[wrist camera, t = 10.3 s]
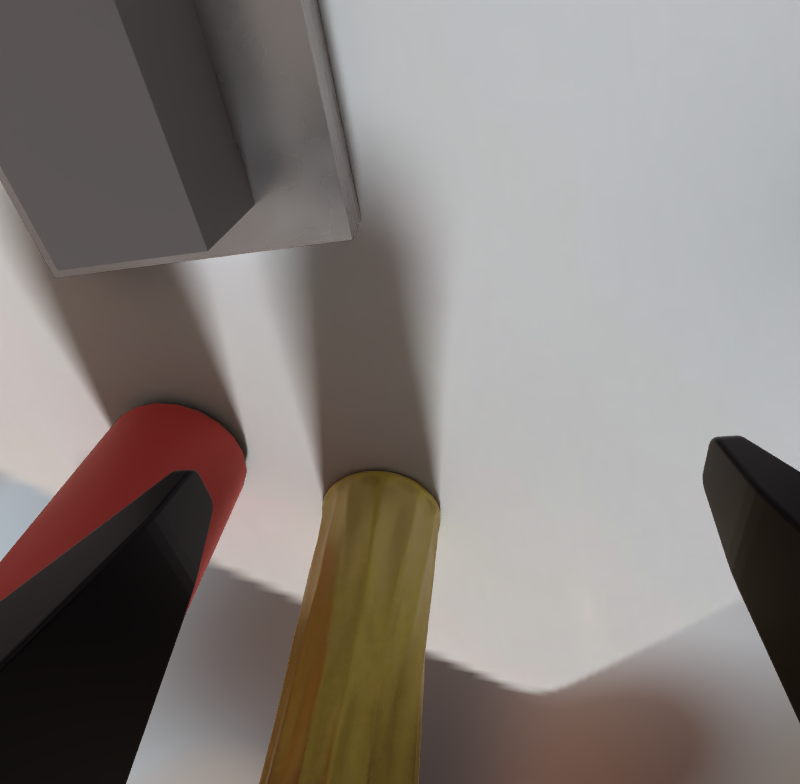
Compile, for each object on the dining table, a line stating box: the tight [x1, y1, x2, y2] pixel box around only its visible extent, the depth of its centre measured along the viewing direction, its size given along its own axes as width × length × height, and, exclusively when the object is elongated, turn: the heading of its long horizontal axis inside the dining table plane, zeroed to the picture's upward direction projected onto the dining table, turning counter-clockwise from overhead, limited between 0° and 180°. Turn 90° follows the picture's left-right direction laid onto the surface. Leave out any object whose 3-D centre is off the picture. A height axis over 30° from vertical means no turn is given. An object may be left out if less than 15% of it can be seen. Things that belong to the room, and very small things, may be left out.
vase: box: [259, 471, 440, 784], centre depth 22 cm, size 6×6×14 cm
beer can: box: [0, 403, 247, 615], centre depth 22 cm, size 7×7×12 cm
